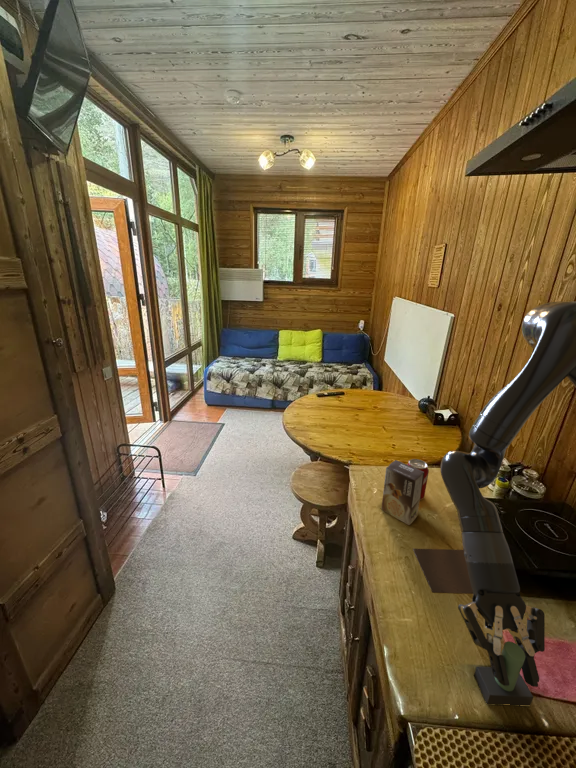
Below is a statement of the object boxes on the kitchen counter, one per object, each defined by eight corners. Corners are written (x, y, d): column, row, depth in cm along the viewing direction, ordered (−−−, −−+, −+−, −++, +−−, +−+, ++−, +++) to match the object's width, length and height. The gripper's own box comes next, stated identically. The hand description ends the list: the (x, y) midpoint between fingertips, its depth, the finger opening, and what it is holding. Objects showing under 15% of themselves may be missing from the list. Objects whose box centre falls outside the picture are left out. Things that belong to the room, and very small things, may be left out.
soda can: (417, 504, 97) (423, 472, 94) (398, 493, 102) (402, 462, 99) (427, 496, 101) (433, 464, 98) (409, 486, 106) (413, 455, 103)
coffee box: (418, 518, 92) (426, 472, 87) (408, 529, 87) (416, 481, 82) (389, 503, 98) (395, 459, 93) (379, 513, 93) (385, 467, 89)
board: (481, 554, 79) (482, 550, 79) (513, 599, 68) (514, 594, 67) (411, 552, 80) (412, 548, 79) (431, 597, 68) (432, 592, 68)
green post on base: (473, 675, 54) (485, 636, 51) (513, 677, 54) (527, 638, 51) (486, 705, 51) (500, 664, 48) (529, 707, 51) (546, 666, 47)
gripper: (459, 559, 53) (486, 693, 46) (542, 562, 53) (583, 696, 45) (440, 557, 60) (461, 673, 52) (513, 560, 60) (545, 676, 52)
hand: (517, 683), depth 49 cm, fingers open, 4 cm apart
